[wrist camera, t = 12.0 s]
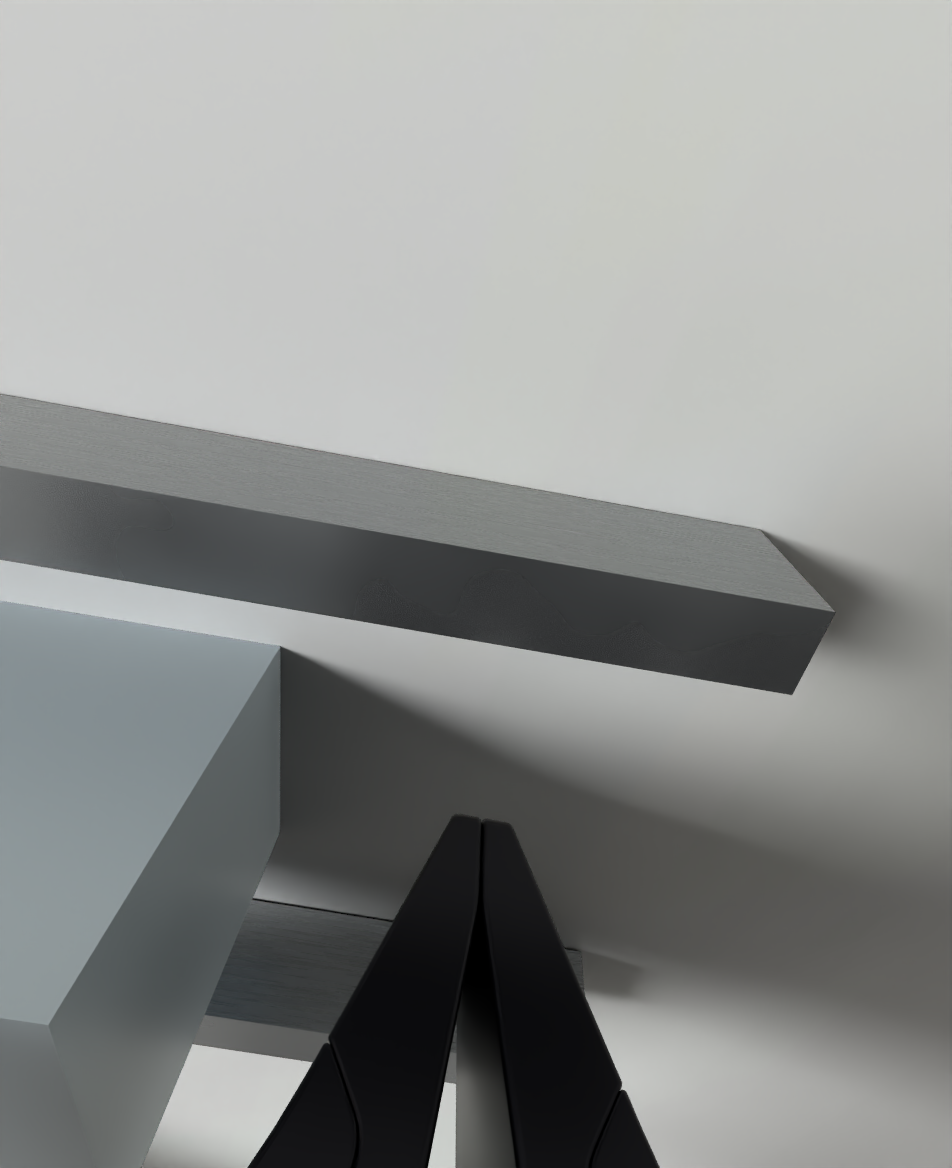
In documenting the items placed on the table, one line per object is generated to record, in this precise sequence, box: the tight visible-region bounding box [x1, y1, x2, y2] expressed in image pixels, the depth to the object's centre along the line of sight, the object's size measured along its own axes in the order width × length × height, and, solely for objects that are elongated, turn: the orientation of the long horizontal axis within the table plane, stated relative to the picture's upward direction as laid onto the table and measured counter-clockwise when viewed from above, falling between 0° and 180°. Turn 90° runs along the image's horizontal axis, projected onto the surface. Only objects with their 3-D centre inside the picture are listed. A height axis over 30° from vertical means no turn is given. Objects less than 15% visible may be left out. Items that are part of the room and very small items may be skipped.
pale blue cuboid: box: [0, 601, 281, 1168], centre depth 7 cm, size 5×4×5 cm
